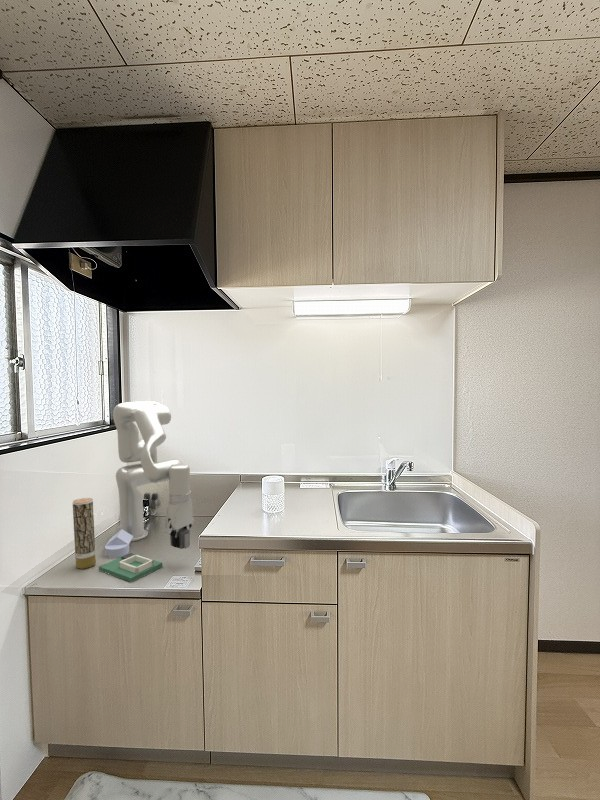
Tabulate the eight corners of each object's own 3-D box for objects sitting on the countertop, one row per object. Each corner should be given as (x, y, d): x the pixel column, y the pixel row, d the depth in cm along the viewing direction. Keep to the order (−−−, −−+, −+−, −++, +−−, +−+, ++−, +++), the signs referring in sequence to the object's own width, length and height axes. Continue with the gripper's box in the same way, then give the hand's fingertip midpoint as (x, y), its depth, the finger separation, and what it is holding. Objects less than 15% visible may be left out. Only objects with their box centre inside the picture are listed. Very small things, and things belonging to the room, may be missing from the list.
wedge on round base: (111, 545, 190) (102, 558, 177) (110, 529, 190) (101, 541, 177) (133, 544, 191) (126, 556, 179) (133, 528, 191) (125, 540, 178)
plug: (170, 545, 171) (170, 530, 170) (178, 541, 174) (178, 526, 174) (183, 549, 167) (183, 533, 167) (191, 545, 171) (191, 530, 170)
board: (99, 570, 167) (98, 561, 167) (131, 556, 179) (130, 547, 179) (131, 582, 157) (130, 572, 157) (162, 566, 169) (162, 557, 169)
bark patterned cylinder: (85, 570, 167) (82, 504, 165) (71, 567, 169) (68, 502, 167) (99, 563, 173) (96, 498, 171) (86, 560, 176) (82, 497, 174)
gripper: (188, 490, 178) (189, 535, 180) (154, 501, 164) (155, 550, 166) (203, 493, 174) (203, 539, 176) (169, 505, 160) (170, 555, 162)
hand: (180, 544), depth 171 cm, fingers closed on plug, 4 cm apart
